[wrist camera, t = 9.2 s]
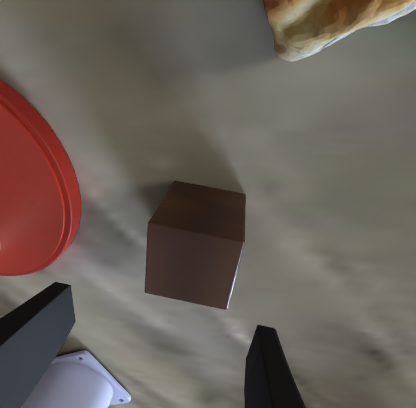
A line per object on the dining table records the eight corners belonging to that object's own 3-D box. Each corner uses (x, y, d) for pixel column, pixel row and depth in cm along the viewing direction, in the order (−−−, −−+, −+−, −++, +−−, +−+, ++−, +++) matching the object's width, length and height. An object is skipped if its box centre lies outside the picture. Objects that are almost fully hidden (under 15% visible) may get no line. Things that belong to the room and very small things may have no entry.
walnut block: (168, 238, 19) (144, 293, 14) (174, 180, 17) (147, 222, 12) (232, 251, 18) (227, 310, 14) (246, 193, 16) (245, 241, 12)
